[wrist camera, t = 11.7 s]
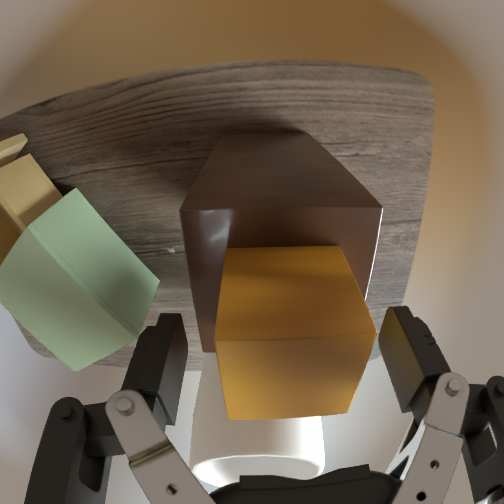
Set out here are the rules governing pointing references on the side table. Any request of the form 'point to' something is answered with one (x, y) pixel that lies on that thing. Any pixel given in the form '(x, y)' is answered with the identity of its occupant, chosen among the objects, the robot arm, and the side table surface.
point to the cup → (249, 440)
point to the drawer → (21, 192)
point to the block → (290, 332)
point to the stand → (272, 211)
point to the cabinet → (76, 283)
